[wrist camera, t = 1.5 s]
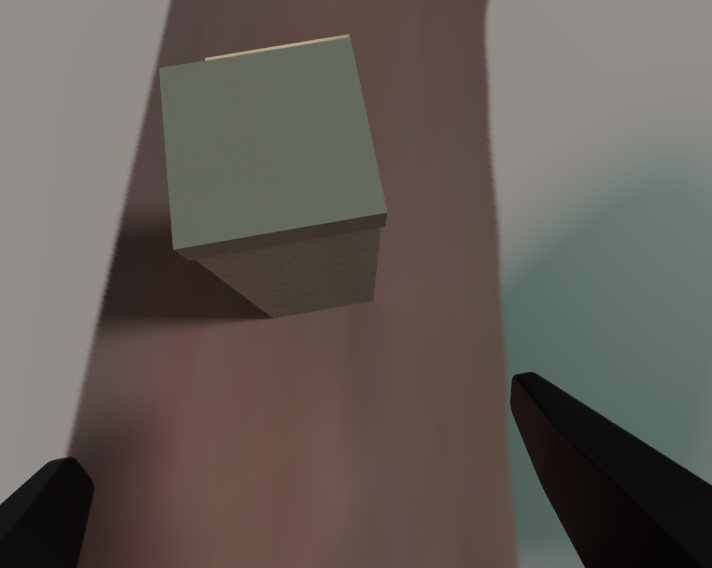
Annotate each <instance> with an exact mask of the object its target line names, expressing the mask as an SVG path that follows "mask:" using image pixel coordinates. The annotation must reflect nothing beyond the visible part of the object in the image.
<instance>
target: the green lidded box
mask: <svg viewBox="0 0 712 568" xmlns="http://www.w3.org/2000/svg"><path fill="white" fill-rule="evenodd" d="M159 72H160V85H161V98H162V111H163V124H164V137H165V150H166V163H167V176H168V189H169V202H170V215H171V228H172V241H173V250H174V251H176V252H177V253H178V254H180V255H181V256H183V257H184V258H185V259H187V260H188V261H191V260H196V261H198V262H199V263H200V264H202V265H203V266H204V267H206V268H207V269H208V270H210V271H211V272H212V273H214V274H215V275H216V276H218V277H219V278H220V279H222V280H223V281H224V282H225V283H227V284H228V285H229V286H231V287H232V288H233V289H235V290H236V291H237V292H239V293H240V294H241V295H243V296H244V297H245V298H247V299H248V300H249V301H251V302H252V303H253V304H255V305H256V306H257V307H258V308H260V309H261V310H262V311H264V312H265V313H266V314H268V315H269V316H270V317H272V318H278V317H284V316H290V315H295V314H301V313H306V312H312V311H318V310H323V309H329V308H334V307H340V306H346V305H351V304H357V303H362V302H368V301H373V299H374V289H375V280H376V270H377V261H378V251H379V242H380V232H381V227H385V226H386V218H387V209H386V204H385V199H384V195H383V190H382V185H381V180H380V176H379V171H378V166H377V162H376V157H375V152H374V147H373V143H372V138H371V133H370V128H369V124H368V119H367V114H366V109H365V105H364V100H363V95H362V91H361V86H360V81H359V76H358V72H357V67H356V62H355V57H354V53H353V48H352V43H351V39H350V37H347V38H341V39H335V40H329V41H323V42H317V43H311V44H305V45H298V46H292V47H286V48H280V49H274V50H268V51H262V52H256V53H249V54H243V55H237V56H231V57H225V58H219V59H213V60H207V61H201V62H194V63H188V64H182V65H176V66H170V67H164V68H159Z"/></svg>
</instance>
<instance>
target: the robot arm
mask: <svg viewBox="0 0 712 568" xmlns="http://www.w3.org/2000/svg"><path fill="white" fill-rule="evenodd" d="M510 406H511V411H512V414H513V416H514V419H515V421H516V424H517V426H518V429H519V431H520V434H521V436H522V439H523V441H524V444H525V446H526V449H527V451H528V454H529V456H530V459H531V461H532V463H533V466H534V469H535V471H536V473H537V476H538V478H539V480H540V483H541V485H542V487H543V489H544V491H545V493H546V495H547V497H548V499H549V501H550V503H551V504H552V506H553V508H554V510H555V512H556V514H557V516H558V518H559V520H560V521H561V523H562V525H563V527H564V529H565V531H566V533H567V535H568V536H569V538H570V540H571V542H572V544H573V546H574V548H575V549H576V551H577V553H578V555H579V557H580V559H581V561H582V563H583V565H584V566H585V568H712V485H711V484H709V483H708V482H706V481H704V480H703V479H701V478H700V477H698V476H696V475H695V474H693V473H692V472H690V471H689V470H687V469H686V468H684V467H682V466H681V465H679V464H678V463H676V462H675V461H673V460H671V459H670V458H668V457H667V456H665V455H663V454H662V453H660V452H659V451H657V450H656V449H654V448H653V447H651V446H649V445H648V444H646V443H645V442H643V441H642V440H640V439H638V438H637V437H635V436H634V435H632V434H631V433H629V432H628V431H626V430H624V429H623V428H621V427H619V426H618V425H617V424H615V423H613V422H612V421H610V420H609V419H607V418H606V417H604V416H602V415H601V414H599V413H598V412H596V411H595V410H593V409H591V408H590V407H588V406H587V405H585V404H583V403H582V402H580V401H579V400H577V399H576V398H574V397H573V396H571V395H570V394H568V393H566V392H565V391H563V390H562V389H560V388H559V387H557V386H555V385H554V384H552V383H551V382H549V381H548V380H546V379H544V378H543V377H541V376H540V375H538V374H536V373H534V372H527V373H521V374H516V375H514V376H513V378H512V385H511V398H510ZM93 494H94V484H93V481H92V479H91V478H90V476H89V475H88V474H87V472H86V471H85V470H84V468H83V467H82V466H81V465H80V463H79V462H78V461H77V460H76V459H75V458H73V457H67V458H61V459H56V460H52V461H50V462H48V463H47V464H45V465H44V466H43V467H42V468H41V469H40V470H39V471H38V472H36V473H35V474H34V475H33V476H32V477H31V478H30V479H29V480H27V481H26V482H25V483H24V484H23V485H22V486H21V487H20V488H18V489H17V490H16V491H15V492H14V493H13V494H12V495H11V496H10V497H9V498H7V499H6V500H5V501H4V502H3V503H2V504H1V505H0V568H77V565H78V561H79V557H80V552H81V548H82V543H83V539H84V534H85V530H86V525H87V521H88V516H89V512H90V507H91V503H92V499H93Z"/></svg>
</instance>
